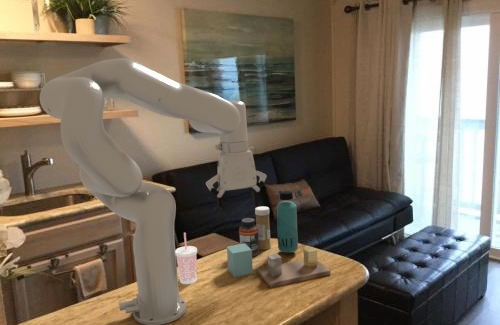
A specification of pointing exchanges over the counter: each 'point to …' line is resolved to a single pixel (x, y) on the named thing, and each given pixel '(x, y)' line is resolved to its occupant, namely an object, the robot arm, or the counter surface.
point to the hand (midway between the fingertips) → (238, 207)
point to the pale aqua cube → (239, 260)
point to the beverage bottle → (287, 223)
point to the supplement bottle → (249, 235)
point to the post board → (289, 271)
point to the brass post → (310, 257)
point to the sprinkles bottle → (263, 227)
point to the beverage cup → (187, 263)
